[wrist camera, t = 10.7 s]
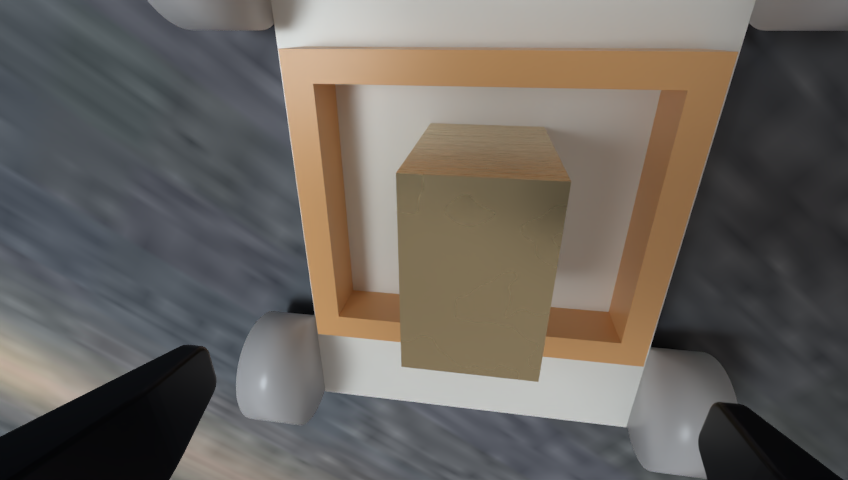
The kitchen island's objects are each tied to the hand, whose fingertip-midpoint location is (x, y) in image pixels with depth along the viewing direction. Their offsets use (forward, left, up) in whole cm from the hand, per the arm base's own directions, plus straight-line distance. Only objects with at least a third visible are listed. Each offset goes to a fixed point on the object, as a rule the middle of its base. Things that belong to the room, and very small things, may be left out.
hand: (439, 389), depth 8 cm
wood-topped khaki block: (0, 0, -10) cm, 10 cm away
